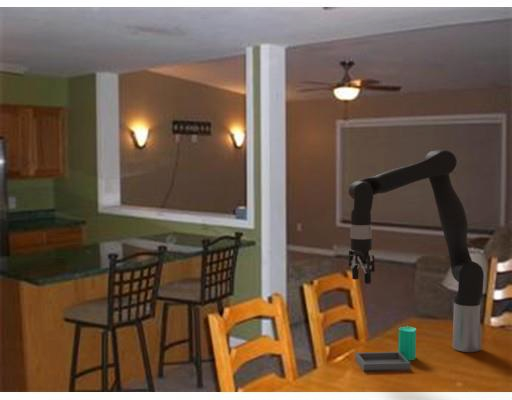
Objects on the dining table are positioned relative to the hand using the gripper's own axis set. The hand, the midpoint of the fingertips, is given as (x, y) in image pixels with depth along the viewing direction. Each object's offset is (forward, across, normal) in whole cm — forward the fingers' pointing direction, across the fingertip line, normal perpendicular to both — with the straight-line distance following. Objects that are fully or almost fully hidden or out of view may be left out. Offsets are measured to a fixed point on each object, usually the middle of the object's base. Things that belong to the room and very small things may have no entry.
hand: (361, 281), depth 225 cm
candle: (+27, -10, -12) cm, 31 cm away
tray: (+27, -14, 0) cm, 30 cm away
